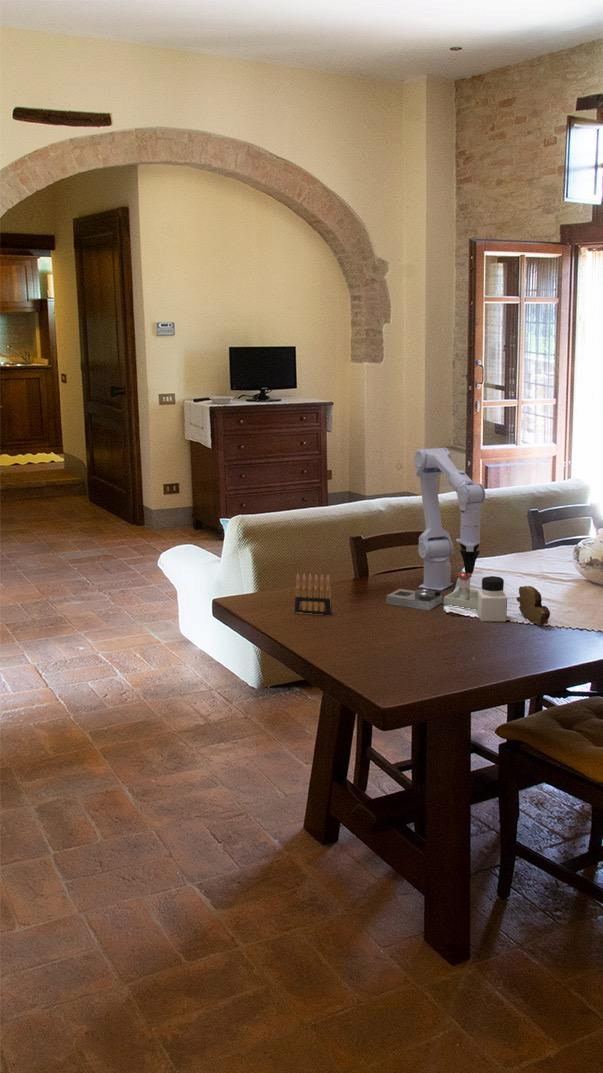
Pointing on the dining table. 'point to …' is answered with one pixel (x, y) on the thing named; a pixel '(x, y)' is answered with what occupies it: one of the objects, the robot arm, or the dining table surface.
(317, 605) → the ammunition clip
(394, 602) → the grey fixture block
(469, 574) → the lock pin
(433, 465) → the robot arm
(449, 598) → the tray
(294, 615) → the dining table surface
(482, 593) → the medicine bottle
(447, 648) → the dining table surface
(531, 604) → the wooden carving
